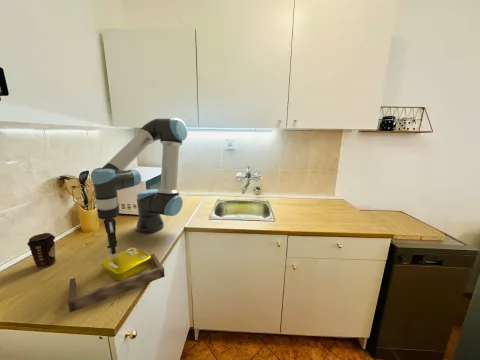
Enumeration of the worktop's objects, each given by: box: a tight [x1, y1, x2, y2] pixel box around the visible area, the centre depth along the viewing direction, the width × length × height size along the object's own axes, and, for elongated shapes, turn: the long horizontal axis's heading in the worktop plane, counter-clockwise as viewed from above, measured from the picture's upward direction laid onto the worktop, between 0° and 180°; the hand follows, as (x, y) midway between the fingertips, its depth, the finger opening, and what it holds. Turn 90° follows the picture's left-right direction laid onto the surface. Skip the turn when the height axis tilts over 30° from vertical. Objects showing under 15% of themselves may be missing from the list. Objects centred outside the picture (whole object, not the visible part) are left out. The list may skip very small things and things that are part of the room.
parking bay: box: [67, 253, 165, 313], centre depth 82 cm, size 30×14×4 cm, turn 126°
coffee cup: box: [27, 232, 56, 269], centre depth 91 cm, size 9×8×13 cm
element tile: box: [100, 246, 153, 282], centre depth 90 cm, size 15×15×5 cm
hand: (114, 259), depth 91 cm, fingers closed
